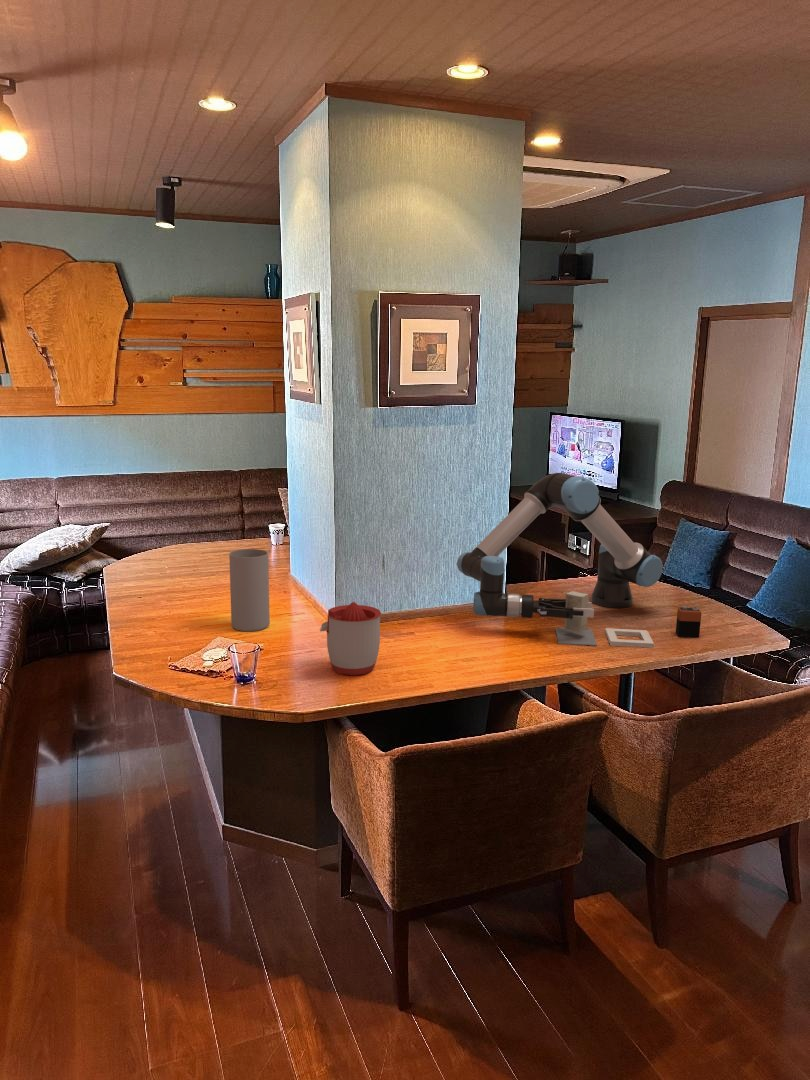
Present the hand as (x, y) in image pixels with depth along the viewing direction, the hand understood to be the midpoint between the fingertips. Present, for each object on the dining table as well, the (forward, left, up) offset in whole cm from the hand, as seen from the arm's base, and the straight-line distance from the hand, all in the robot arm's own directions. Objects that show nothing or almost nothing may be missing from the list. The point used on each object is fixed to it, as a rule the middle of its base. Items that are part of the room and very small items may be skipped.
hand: (592, 609), depth 262 cm
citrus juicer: (+40, -72, -10) cm, 83 cm away
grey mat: (0, -5, -10) cm, 11 cm away
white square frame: (0, +12, -10) cm, 15 cm away
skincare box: (0, -5, -7) cm, 9 cm away
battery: (-8, +32, -10) cm, 35 cm away
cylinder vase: (+7, -112, -10) cm, 112 cm away
